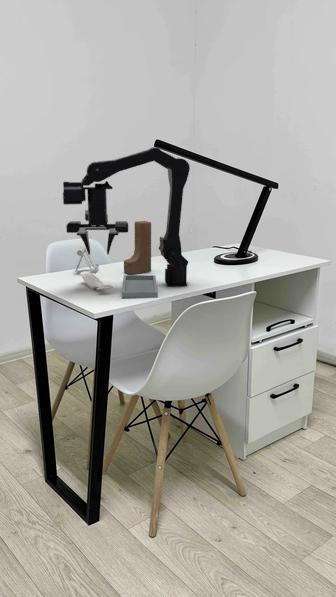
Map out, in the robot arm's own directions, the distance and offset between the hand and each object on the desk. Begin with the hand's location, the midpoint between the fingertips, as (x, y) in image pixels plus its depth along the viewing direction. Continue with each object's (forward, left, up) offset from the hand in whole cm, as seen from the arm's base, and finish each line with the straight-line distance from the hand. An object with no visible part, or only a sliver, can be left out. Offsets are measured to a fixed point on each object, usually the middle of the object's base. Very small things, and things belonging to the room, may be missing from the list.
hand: (98, 254), depth 175 cm
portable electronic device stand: (+6, -26, -11) cm, 29 cm away
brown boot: (-12, -23, -11) cm, 28 cm away
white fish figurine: (+2, 0, -11) cm, 11 cm away
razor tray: (-13, +2, -11) cm, 17 cm away
